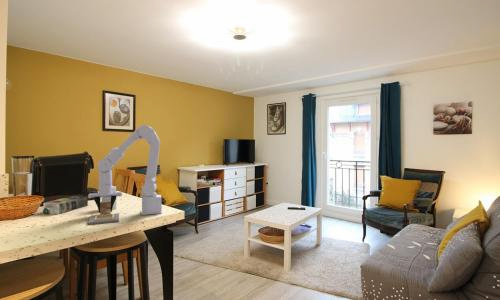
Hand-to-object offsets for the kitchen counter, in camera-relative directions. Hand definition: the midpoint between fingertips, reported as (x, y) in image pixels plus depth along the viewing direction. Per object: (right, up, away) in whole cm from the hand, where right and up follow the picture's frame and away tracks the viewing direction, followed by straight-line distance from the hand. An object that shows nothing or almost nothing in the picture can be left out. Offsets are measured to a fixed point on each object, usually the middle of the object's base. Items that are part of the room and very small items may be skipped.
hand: (105, 211), depth 139 cm
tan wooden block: (0, -1, 0) cm, 1 cm away
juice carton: (-25, -1, +9) cm, 27 cm away
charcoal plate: (+4, -2, -9) cm, 10 cm away
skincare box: (-4, -1, +11) cm, 12 cm away
